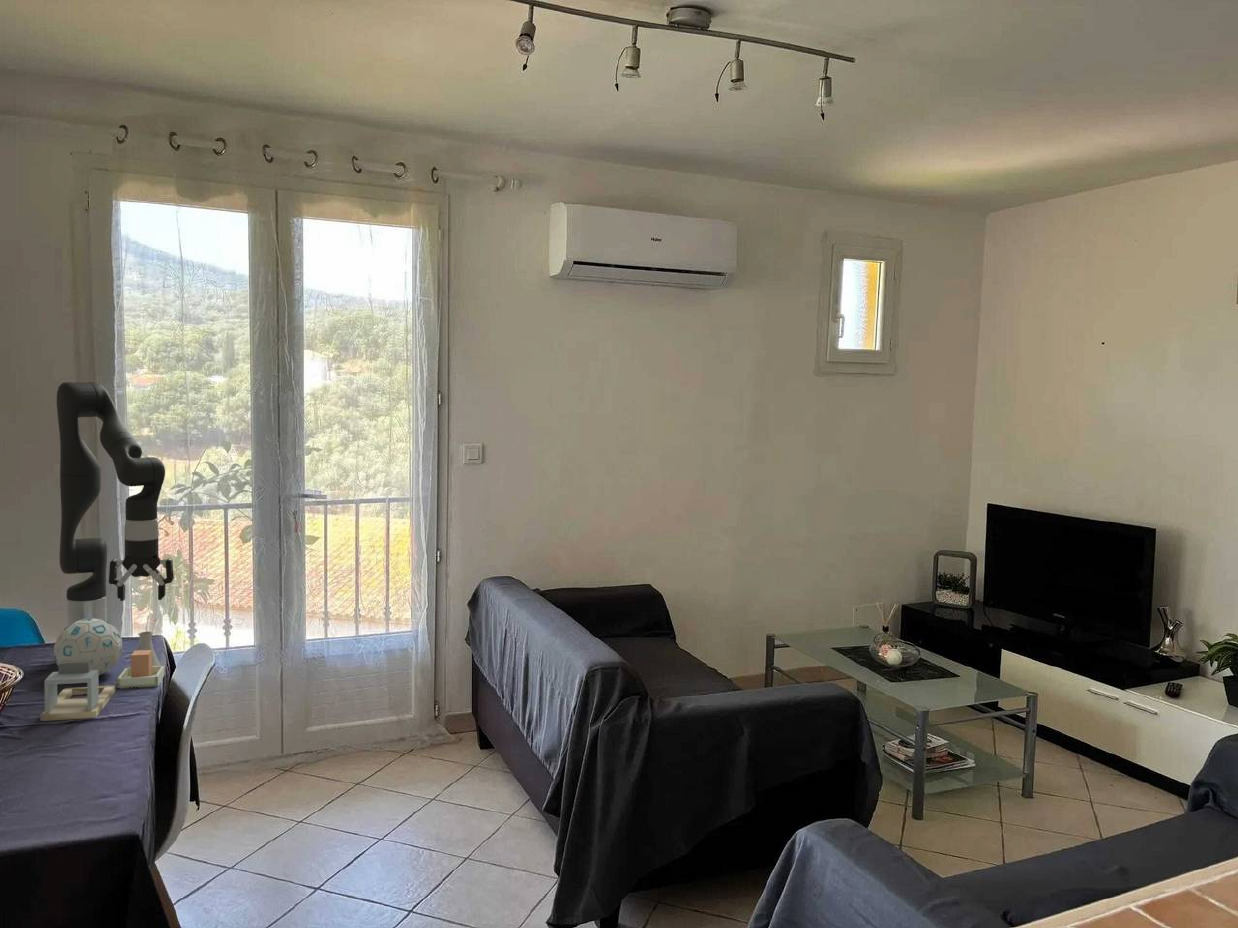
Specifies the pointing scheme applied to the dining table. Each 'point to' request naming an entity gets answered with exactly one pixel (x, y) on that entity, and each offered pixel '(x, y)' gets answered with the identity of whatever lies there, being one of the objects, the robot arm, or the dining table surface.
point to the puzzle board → (77, 704)
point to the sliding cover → (72, 674)
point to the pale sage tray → (141, 678)
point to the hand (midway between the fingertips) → (141, 599)
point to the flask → (148, 646)
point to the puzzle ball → (89, 644)
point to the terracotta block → (141, 663)
